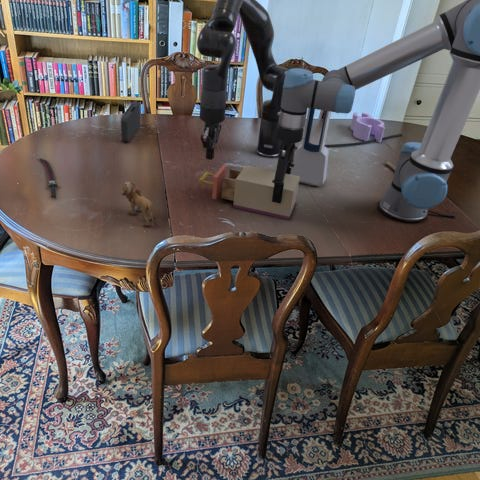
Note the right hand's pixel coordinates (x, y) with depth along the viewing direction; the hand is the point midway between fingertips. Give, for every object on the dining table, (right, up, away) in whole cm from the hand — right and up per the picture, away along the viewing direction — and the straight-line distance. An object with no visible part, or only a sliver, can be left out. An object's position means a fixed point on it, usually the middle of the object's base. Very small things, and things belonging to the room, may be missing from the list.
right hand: (280, 193), depth 145 cm
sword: (-75, +6, +6) cm, 76 cm away
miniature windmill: (+10, +39, +72) cm, 83 cm away
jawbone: (+53, +12, +37) cm, 66 cm away
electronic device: (+11, +7, +22) cm, 25 cm away
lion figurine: (-42, -8, -9) cm, 44 cm away
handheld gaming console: (-57, +29, +45) cm, 78 cm away
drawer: (-15, 0, +5) cm, 16 cm away
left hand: (-22, +11, +1) cm, 25 cm away
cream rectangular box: (-5, -3, +4) cm, 7 cm away
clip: (+45, +34, +70) cm, 90 cm away
